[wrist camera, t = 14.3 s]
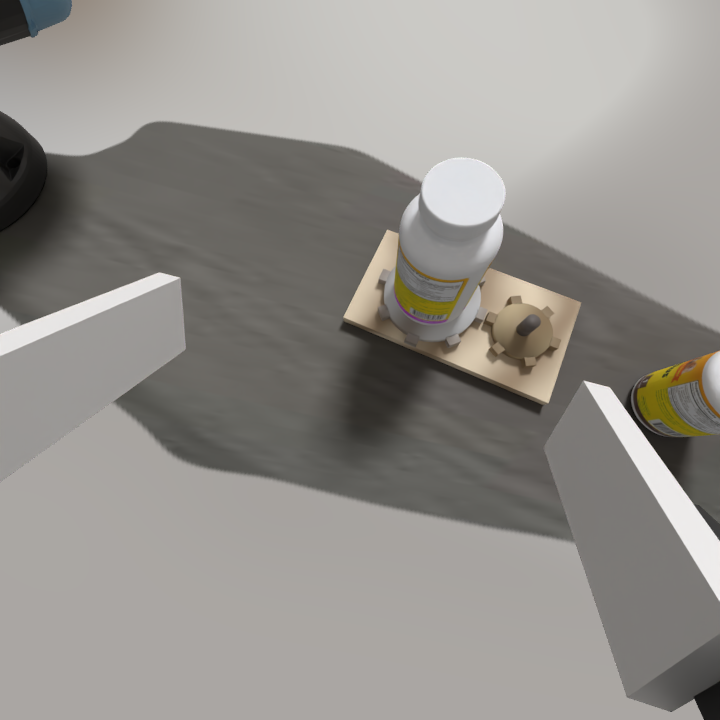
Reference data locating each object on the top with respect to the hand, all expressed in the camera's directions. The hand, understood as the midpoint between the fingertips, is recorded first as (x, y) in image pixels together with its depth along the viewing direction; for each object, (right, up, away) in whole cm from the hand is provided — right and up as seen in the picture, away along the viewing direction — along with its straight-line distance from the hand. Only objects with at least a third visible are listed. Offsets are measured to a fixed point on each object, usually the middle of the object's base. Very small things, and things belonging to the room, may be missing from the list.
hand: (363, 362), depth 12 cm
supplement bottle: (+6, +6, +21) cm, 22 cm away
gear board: (+9, +4, +22) cm, 24 cm away
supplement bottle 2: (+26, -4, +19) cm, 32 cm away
